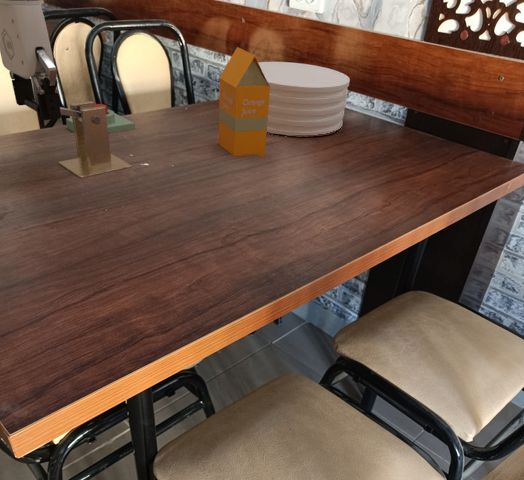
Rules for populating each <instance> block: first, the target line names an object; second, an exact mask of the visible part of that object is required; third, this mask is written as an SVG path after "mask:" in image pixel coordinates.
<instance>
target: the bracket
mask: <svg viewBox="0 0 524 480" xmlns="http://www.w3.org/2000/svg"><path fill="white" fill-rule="evenodd" d="M95 104H96V103H95V101H92V100H90V101H81V102H74V103H69V109H72V110H77V111H79V109H80V107H85V108H88V109H81V117H82V122H81V121H79V120H78V117H73V116H71V118H72V121H73V128H74V132H73V133H74V140H75V146H76V152H77V153H76V154H77V158H72V159H66V160H61V161H58V162H57V164H58V165H60V166H61V167H62V168H64V169H66V170H67V171H68V172H70V173H71V174H73V175H75V176H76V177H77V178H79V179H86V178H89V177H94V176H100V175H104V174H108V173H112V172H117V171H122V170H127V169H132V168H133V165H132V164H130V163H128V162H127V161H125V160H123V159H121V158H119V157H118V156H116V155H114V154H112V153H111V146H110V137H109V133H108V128H107V119H106V110H105V107H95Z"/></svg>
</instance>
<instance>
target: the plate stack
mask: <svg viewBox="0 0 524 480" xmlns="http://www.w3.org/2000/svg"><path fill="white" fill-rule="evenodd" d="M257 62H258V64H259V66H260V68H261V70H262V72H263V74H264V76H265V78H266V80H267V82H268V84H269V85H270V94H269V107H268V123H267V132H270V133H276V134H286V135H318V134H326V133H330V132H333V131H336V130H338V129H340V128H341V127H342V128H343V123H344V121H343V120H344V117H345V109H346V105H347V100H346V99H347V98H348V93H349V90H348V88H349V86H350V81H351V79H350V77H349V76H348V75H347V74H345V73H343V72H340V71H339V70H335V69H331V68H330V67H329V68H328V67H324V66H319V65H315V64H307V63H300V62H288V61H260V62H259V61H257ZM342 128H341V129H342Z"/></svg>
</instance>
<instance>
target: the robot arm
mask: <svg viewBox="0 0 524 480" xmlns="http://www.w3.org/2000/svg"><path fill="white" fill-rule="evenodd" d="M44 4H45V1H44V0H0V57H1V62H2V65H3V67H4V68H5V69H6V70H8V71H9V77H10V79H11V84H12V88H13V89H12V90H13V94H14V98H15V102H16V104H17V105H18V106H26V105H25V103H24V101H25V99H26V98H31V99H33V100H34V101H36V98H37V102H38V103H39V108H40V113H41V114H40V113H39V114H40V117H41V118H40V119H42V120H43V121H50V120H51V121H52V120H57V119H61V118H62V114H61V112H60V107H61V106H60V100H59V95H58V94H59V88H58V83H59V82H58V79H57V77H58V76H57V74H58V70H57V66H56V65H55V63H54V57H53V51H52V47H51V41H50V36H49V32H48V27H47V24H46V19H45V15H44V13H43V11H44V10H43V7H42V5H44ZM32 80H33V81H32ZM41 80H43V81H41ZM33 82H34V84H35V86H36V89H37V91H38V93H36V96H35V91H34V85H33Z"/></svg>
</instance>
